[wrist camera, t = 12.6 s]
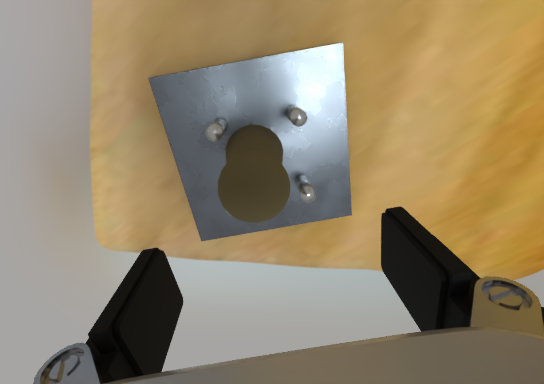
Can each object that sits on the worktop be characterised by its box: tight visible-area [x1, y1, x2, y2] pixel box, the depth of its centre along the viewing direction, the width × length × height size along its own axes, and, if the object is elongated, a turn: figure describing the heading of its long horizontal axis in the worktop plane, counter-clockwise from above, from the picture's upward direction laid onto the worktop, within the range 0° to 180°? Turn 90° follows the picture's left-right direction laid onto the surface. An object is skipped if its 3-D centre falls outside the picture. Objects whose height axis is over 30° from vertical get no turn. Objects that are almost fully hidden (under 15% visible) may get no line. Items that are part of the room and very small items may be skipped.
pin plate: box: [149, 43, 352, 241], centre depth 26 cm, size 18×18×5 cm
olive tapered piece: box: [218, 125, 290, 223], centre depth 22 cm, size 6×6×11 cm
